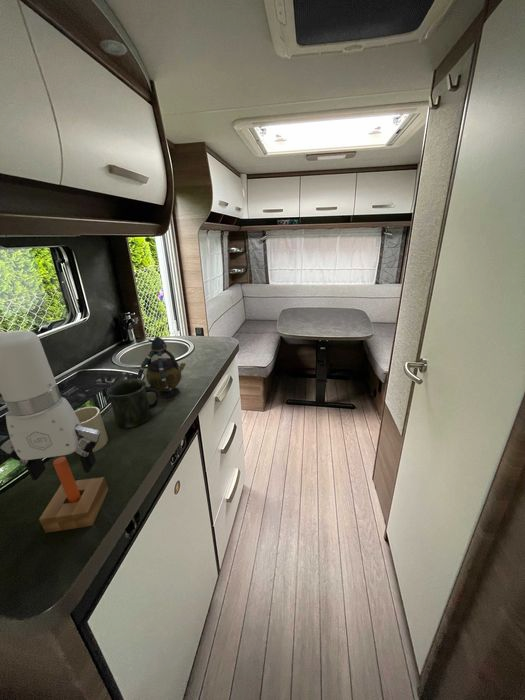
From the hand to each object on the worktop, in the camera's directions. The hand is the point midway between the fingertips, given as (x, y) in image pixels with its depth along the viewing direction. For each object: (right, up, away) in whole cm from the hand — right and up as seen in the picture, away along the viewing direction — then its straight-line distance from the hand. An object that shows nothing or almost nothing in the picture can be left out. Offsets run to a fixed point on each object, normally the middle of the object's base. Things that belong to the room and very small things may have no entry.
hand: (65, 470), depth 56 cm
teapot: (+5, +9, +51) cm, 52 cm away
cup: (-9, -3, +24) cm, 26 cm away
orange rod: (0, -10, +4) cm, 11 cm away
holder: (0, -10, +4) cm, 11 cm away
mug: (0, +2, +35) cm, 35 cm away
